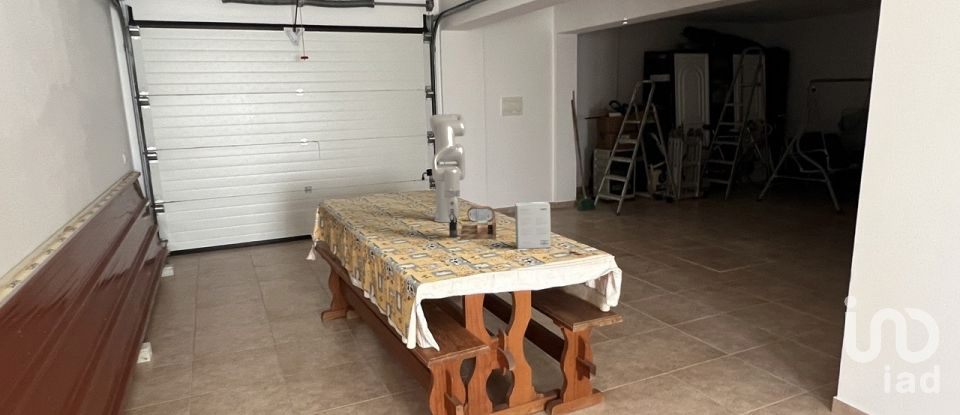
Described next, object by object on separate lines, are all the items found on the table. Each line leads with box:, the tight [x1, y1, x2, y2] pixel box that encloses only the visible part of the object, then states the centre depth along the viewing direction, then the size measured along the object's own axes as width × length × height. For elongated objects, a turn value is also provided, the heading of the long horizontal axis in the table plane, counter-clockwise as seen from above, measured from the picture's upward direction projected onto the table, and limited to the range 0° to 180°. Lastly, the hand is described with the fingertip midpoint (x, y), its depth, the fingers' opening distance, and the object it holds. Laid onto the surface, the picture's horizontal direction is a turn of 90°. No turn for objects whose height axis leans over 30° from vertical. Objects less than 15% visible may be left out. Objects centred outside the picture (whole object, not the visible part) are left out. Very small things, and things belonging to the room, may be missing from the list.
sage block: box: [477, 221, 489, 225], centre depth 301 cm, size 5×5×5 cm
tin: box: [466, 205, 495, 223], centre depth 324 cm, size 15×3×8 cm, turn 84°
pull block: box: [448, 223, 489, 239], centre depth 290 cm, size 19×5×6 cm, turn 90°
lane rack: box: [459, 212, 497, 241], centre depth 295 cm, size 18×23×8 cm
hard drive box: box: [514, 201, 552, 250], centre depth 267 cm, size 16×8×20 cm, turn 92°
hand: (453, 228), depth 289 cm, fingers open, 9 cm apart
